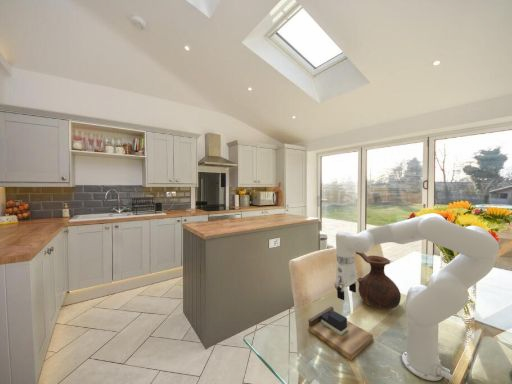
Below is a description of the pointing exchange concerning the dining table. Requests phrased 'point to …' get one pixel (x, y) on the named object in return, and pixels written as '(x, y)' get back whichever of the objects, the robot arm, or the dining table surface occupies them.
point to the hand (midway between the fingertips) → (346, 295)
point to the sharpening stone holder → (341, 336)
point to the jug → (378, 285)
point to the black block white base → (335, 322)
